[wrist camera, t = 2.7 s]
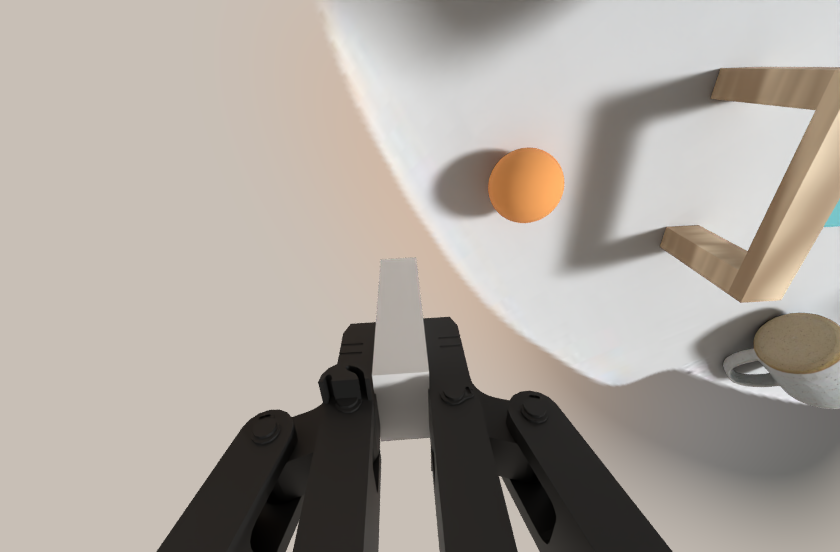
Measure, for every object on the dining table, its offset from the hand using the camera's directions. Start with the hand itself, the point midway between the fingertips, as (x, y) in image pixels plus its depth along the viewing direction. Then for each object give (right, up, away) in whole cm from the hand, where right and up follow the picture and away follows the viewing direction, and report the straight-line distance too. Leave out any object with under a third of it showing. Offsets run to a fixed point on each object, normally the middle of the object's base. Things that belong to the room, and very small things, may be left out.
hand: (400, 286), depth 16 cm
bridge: (+25, +9, +14) cm, 30 cm away
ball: (+9, +7, +12) cm, 16 cm away
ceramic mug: (+41, -7, +26) cm, 49 cm away
